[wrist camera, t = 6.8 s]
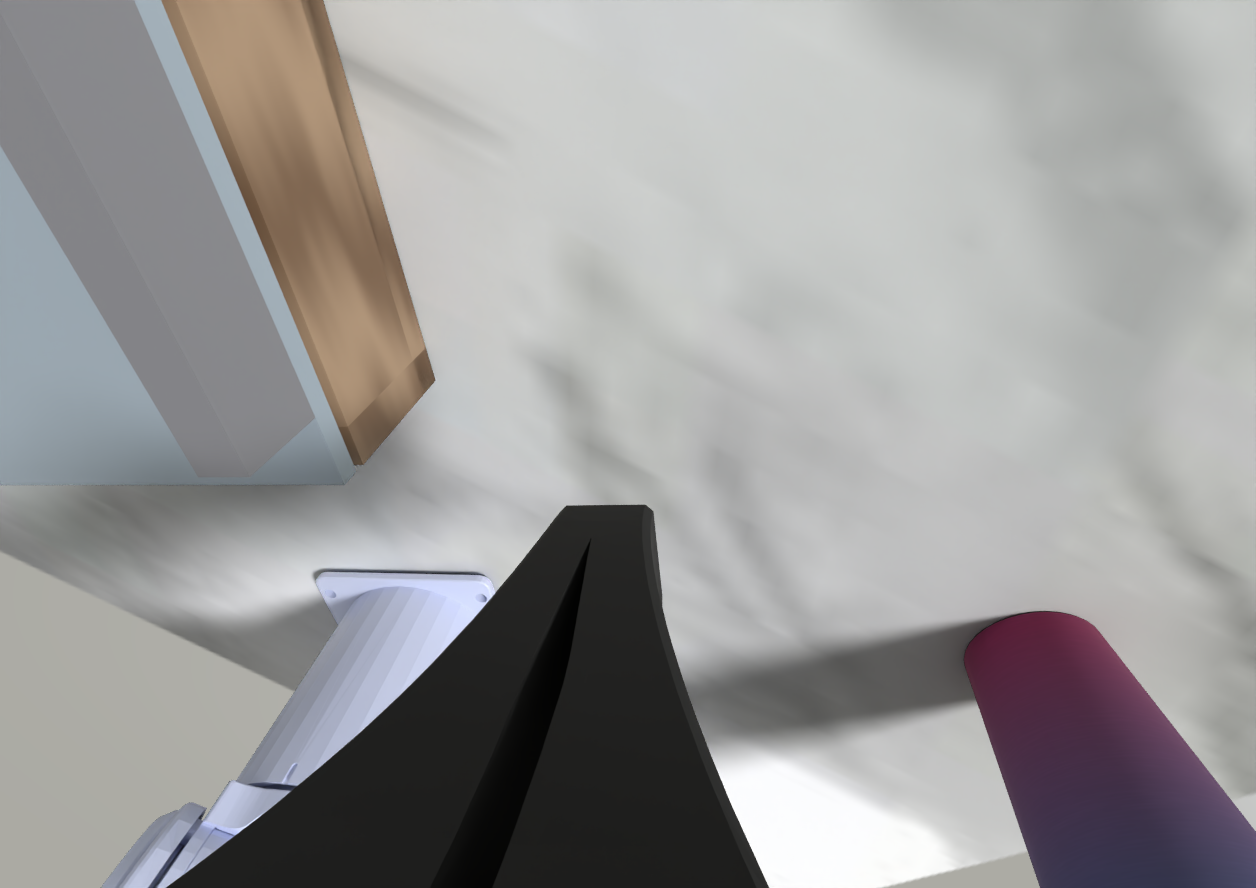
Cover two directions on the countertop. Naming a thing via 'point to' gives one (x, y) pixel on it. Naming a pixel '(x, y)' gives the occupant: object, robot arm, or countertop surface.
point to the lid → (136, 273)
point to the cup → (1099, 765)
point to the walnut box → (311, 200)
